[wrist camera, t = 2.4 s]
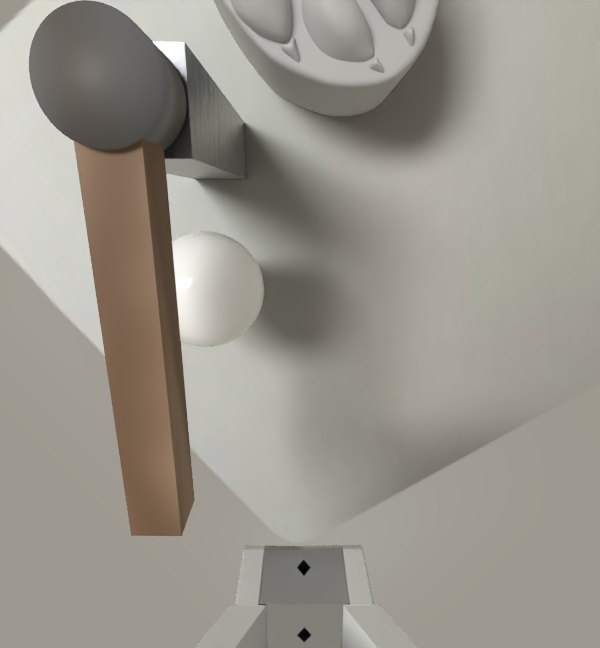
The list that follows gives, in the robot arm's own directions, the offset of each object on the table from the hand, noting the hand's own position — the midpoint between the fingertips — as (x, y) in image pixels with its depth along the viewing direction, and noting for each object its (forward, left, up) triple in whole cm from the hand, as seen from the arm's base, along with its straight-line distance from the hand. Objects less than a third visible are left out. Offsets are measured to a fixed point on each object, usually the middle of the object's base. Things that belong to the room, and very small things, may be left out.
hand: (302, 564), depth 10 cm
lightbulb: (+5, -4, -22) cm, 23 cm away
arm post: (+6, -12, -22) cm, 26 cm away
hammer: (+6, -5, -7) cm, 10 cm away
